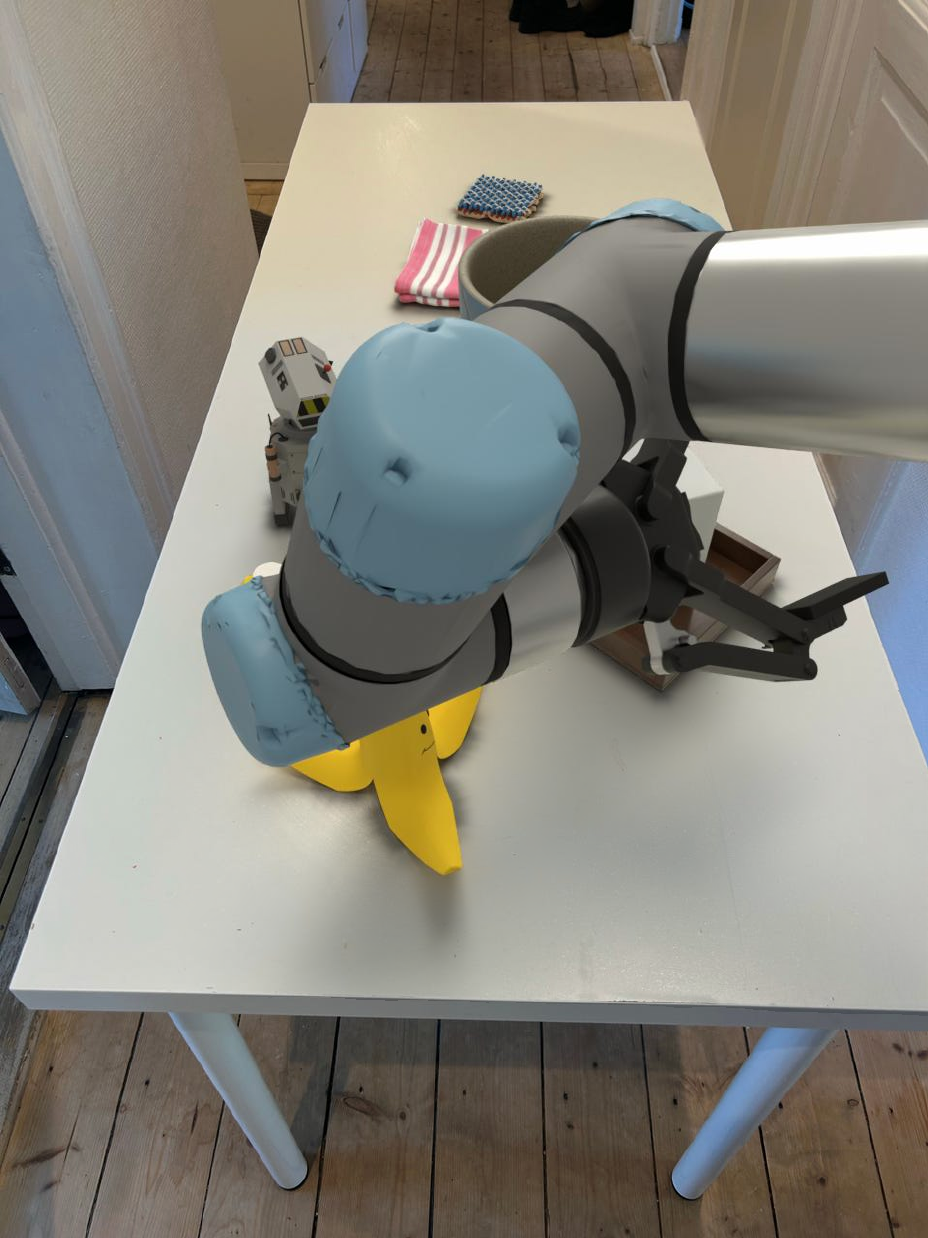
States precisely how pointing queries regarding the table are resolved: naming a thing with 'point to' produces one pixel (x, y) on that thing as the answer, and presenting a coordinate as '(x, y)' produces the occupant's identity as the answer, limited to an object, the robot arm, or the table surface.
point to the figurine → (293, 414)
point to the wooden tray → (741, 568)
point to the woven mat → (500, 200)
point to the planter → (510, 258)
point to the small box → (696, 494)
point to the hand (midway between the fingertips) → (832, 469)
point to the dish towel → (434, 264)
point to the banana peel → (407, 777)
